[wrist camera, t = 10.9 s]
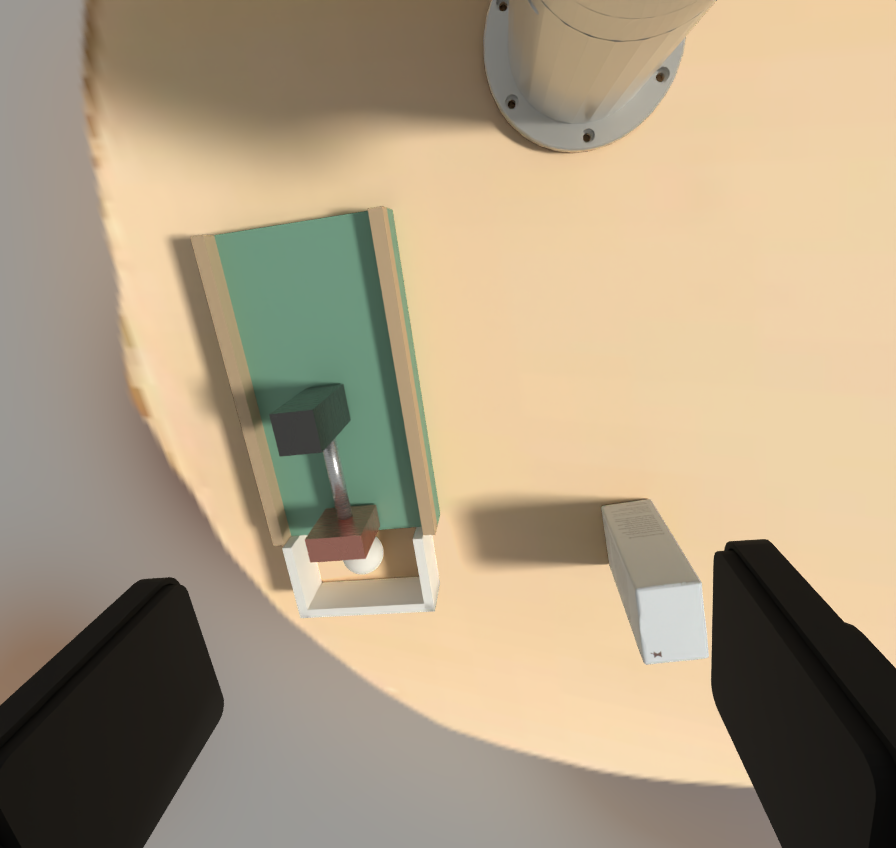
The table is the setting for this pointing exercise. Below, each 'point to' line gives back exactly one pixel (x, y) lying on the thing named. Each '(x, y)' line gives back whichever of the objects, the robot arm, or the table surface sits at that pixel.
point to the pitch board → (323, 362)
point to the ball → (367, 559)
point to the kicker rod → (314, 431)
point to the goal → (362, 585)
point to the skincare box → (655, 584)
